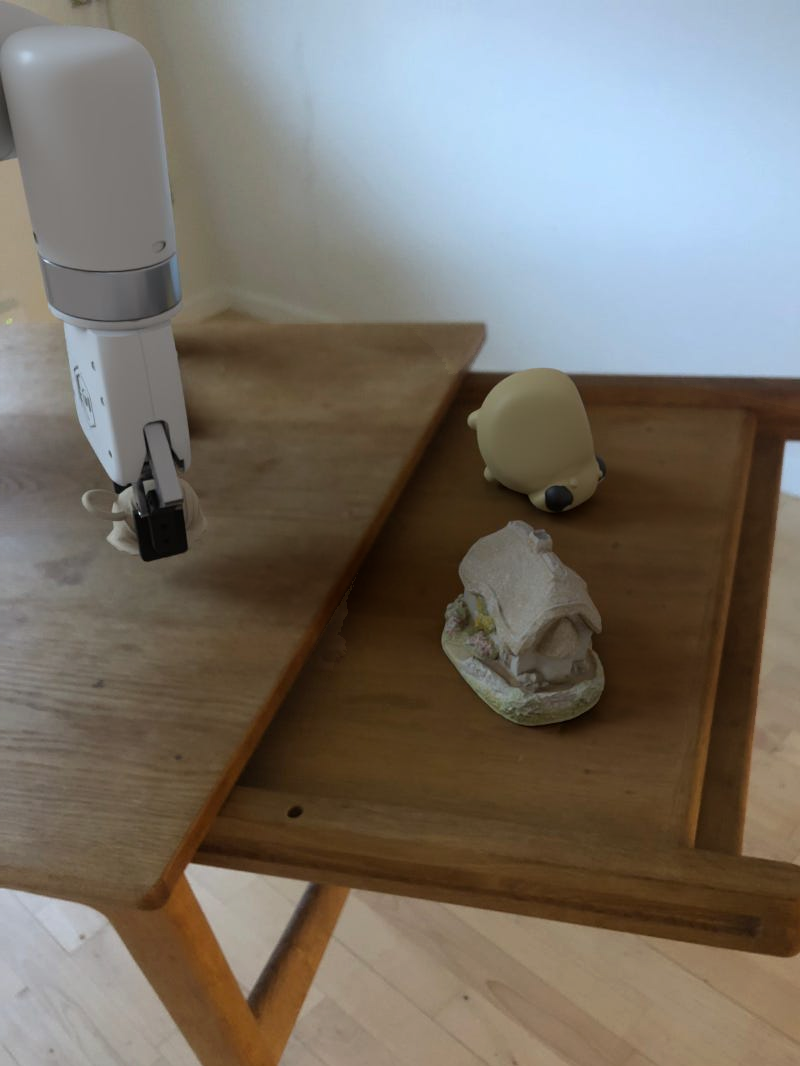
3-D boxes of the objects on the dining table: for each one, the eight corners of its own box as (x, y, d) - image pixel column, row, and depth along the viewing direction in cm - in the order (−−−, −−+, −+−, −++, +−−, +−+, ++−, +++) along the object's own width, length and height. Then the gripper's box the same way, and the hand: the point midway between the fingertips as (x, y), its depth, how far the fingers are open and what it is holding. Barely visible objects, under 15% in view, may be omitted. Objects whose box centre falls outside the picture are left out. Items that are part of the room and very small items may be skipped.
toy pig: (497, 543, 83) (579, 514, 74) (433, 416, 80) (509, 371, 72) (568, 499, 88) (652, 467, 80) (510, 379, 86) (589, 333, 77)
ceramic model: (418, 606, 70) (422, 489, 63) (557, 581, 73) (575, 467, 67) (489, 742, 60) (502, 620, 53) (645, 705, 63) (676, 586, 57)
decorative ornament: (219, 545, 69) (213, 481, 65) (100, 574, 65) (86, 508, 61) (200, 515, 71) (193, 452, 68) (84, 542, 67) (70, 476, 64)
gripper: (12, 236, 59) (68, 488, 71) (85, 349, 49) (136, 621, 61) (135, 225, 62) (168, 468, 74) (227, 329, 52) (248, 590, 64)
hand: (153, 534), depth 68 cm, fingers closed on decorative ornament, 4 cm apart
